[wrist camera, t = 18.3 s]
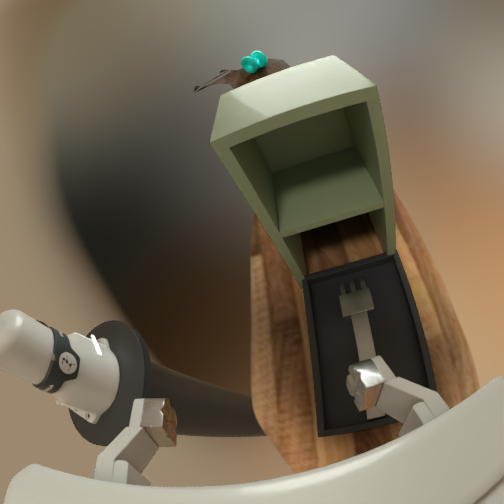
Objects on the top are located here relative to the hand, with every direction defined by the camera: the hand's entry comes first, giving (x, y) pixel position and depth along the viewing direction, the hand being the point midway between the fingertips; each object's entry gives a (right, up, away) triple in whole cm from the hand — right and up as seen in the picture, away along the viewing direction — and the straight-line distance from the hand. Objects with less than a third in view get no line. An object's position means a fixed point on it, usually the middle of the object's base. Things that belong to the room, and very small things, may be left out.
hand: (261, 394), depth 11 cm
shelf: (+13, +7, +29) cm, 33 cm away
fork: (+13, -6, +18) cm, 23 cm away
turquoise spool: (+3, +96, +104) cm, 142 cm away
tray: (+14, -5, +19) cm, 24 cm away
